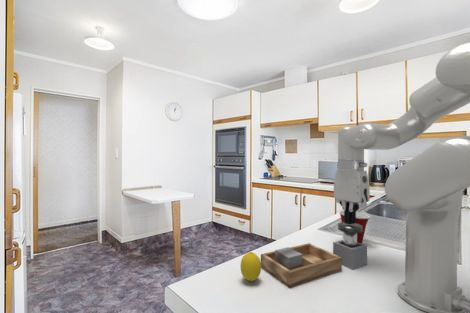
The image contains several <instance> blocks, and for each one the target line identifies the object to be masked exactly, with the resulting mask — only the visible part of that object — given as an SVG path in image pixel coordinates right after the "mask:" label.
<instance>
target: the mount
mask: <svg viewBox="0 0 470 313" xmlns="http://www.w3.org/2000/svg"><path fill="white" fill-rule="evenodd" d="M332 253H333V254H335V255H337V256H340V257H342V267H343V266H344V267H346V268H347V269H349V270H356V269H359V268H362V267H366V266H367V265H368V245H366V244H365V243H364V244H363V243H362V244H361V243H358V242H357V247H354V248H350V247H348V246H345V245H343V239H341V240H336V241H332Z"/></svg>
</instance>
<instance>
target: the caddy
mask: <svg viewBox="0 0 470 313" xmlns="http://www.w3.org/2000/svg"><path fill="white" fill-rule="evenodd" d="M260 262H261V270H264V271H265V272H267V273H268V274H269V275H271V276H272V277H273V278H274V279H276V280H277V281H279V283H281V284H282V285H285V286H286V287H287V288H288V289H292V288H294V287H297V286H300V285H303V284H306V283H307V284H308V283H310V282H311V281H312V282H313V281H315V280H320V279H322V278H324V277H325V278H326V277H327V276H330V275H333V274H337V273H340V272H342V270H343V268H342V267H343V265H342V257H340V256H337V255H335V254H333V252H330V251H328V250H325V249H324V248H321V247H319V246H316V245H314V244H312V243H309V242H308V243H305V244H304V243H303V244H300V245H296V246H291V247H289V246H287V247H283V248H279V249H275V250H273V251H268V252H265V253H261V254H260Z"/></svg>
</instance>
